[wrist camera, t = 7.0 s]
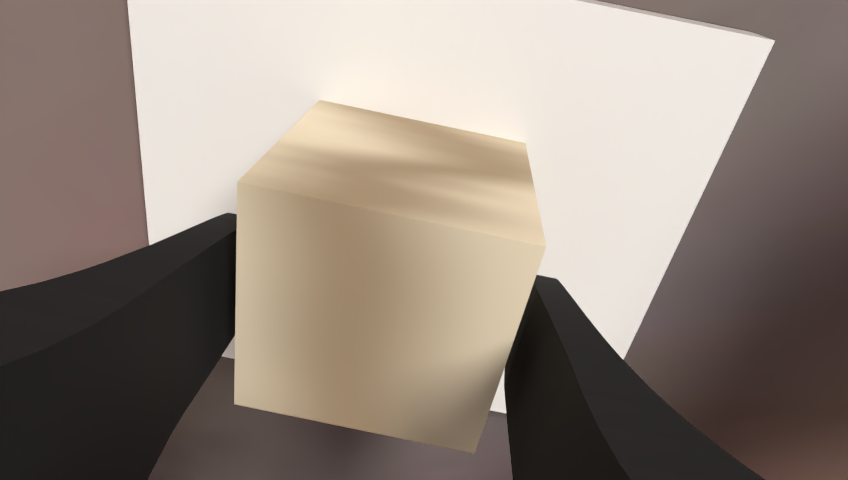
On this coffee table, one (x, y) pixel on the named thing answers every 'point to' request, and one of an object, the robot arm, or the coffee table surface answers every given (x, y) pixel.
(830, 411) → the coffee table surface
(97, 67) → the coffee table surface
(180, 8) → the ceramic tile
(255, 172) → the maple cube
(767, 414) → the coffee table surface
